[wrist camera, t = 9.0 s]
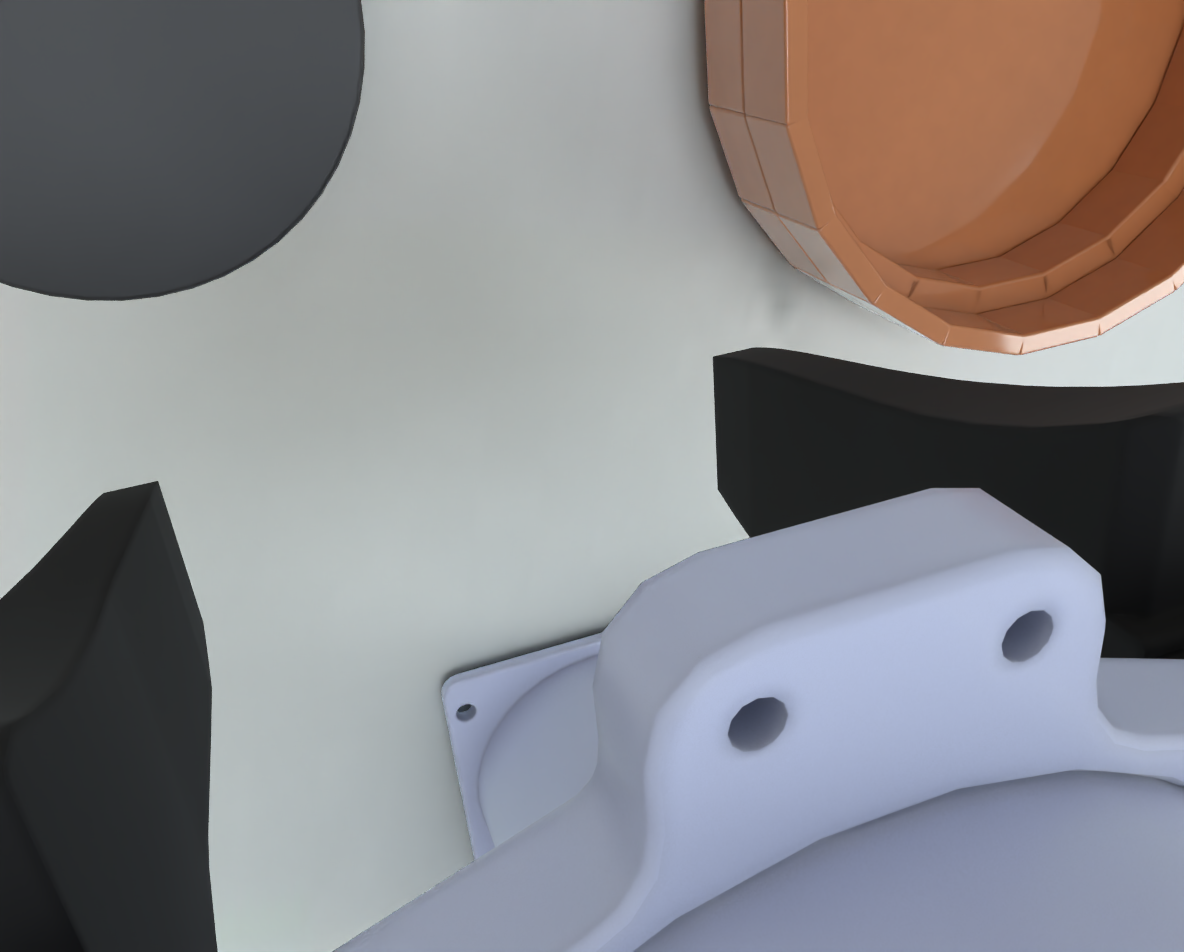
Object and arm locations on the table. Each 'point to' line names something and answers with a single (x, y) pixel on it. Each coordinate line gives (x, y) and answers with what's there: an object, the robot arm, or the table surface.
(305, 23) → the cap
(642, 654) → the robot arm
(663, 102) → the table surface
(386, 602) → the table surface
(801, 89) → the round terracotta dish
